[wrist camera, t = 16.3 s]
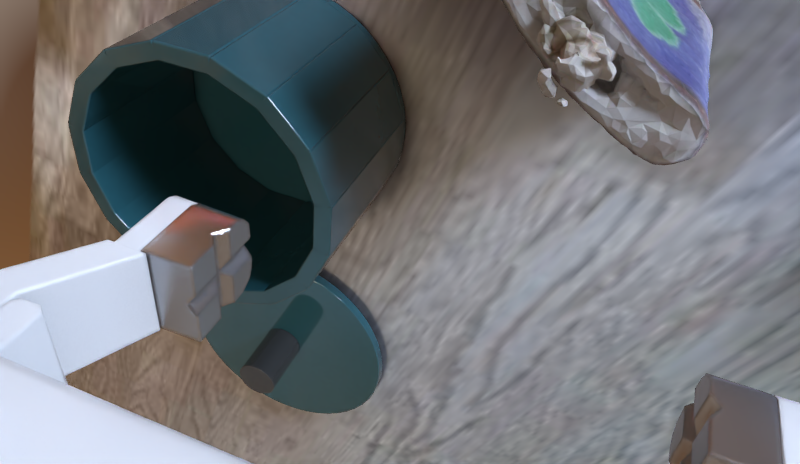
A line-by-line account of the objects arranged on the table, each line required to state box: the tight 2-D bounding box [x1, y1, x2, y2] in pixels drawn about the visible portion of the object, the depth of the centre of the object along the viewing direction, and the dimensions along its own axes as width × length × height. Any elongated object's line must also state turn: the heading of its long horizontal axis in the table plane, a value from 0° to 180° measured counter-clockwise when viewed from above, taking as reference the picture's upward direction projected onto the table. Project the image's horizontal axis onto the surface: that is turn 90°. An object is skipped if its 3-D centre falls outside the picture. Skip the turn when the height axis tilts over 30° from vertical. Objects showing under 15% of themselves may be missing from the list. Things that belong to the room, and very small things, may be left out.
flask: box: [502, 0, 713, 165], centre depth 22 cm, size 9×3×11 cm, turn 46°
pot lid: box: [205, 275, 382, 414], centre depth 44 cm, size 14×14×5 cm
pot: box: [68, 0, 406, 304], centre depth 32 cm, size 13×13×8 cm
